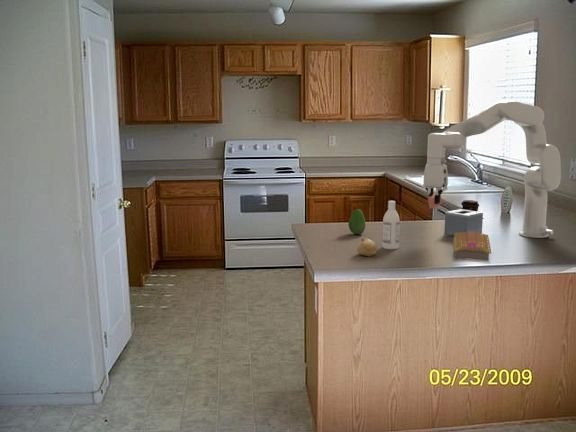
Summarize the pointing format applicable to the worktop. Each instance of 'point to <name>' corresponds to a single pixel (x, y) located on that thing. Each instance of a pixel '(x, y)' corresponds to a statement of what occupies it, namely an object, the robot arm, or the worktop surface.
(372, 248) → the onion
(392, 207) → the bath foam
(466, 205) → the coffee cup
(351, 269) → the worktop surface
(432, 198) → the token
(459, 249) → the brown and pink package
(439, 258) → the worktop surface
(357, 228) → the avocado
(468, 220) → the box
